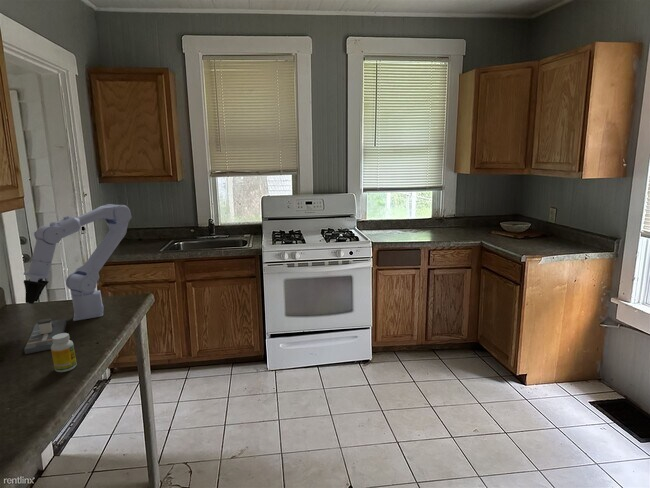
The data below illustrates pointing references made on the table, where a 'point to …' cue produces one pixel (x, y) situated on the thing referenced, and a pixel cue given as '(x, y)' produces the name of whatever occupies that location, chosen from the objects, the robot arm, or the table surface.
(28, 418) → the table surface
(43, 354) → the table surface
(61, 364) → the supplement bottle
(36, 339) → the console
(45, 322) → the fader tab
